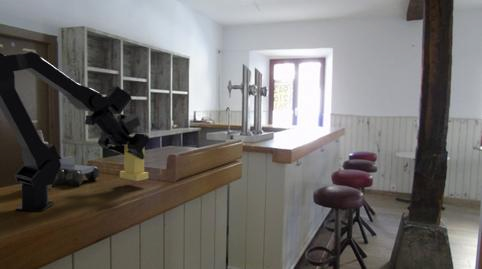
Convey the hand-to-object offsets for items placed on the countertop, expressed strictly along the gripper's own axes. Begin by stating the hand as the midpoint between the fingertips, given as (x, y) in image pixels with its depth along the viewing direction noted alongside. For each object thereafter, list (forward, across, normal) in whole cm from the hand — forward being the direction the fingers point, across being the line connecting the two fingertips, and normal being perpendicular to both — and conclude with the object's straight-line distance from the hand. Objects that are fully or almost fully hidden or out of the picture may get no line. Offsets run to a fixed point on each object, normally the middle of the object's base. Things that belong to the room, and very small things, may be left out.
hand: (137, 157), depth 115 cm
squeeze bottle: (-9, +17, +23) cm, 30 cm away
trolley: (-1, +18, +14) cm, 23 cm away
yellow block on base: (+4, 0, +6) cm, 7 cm away
